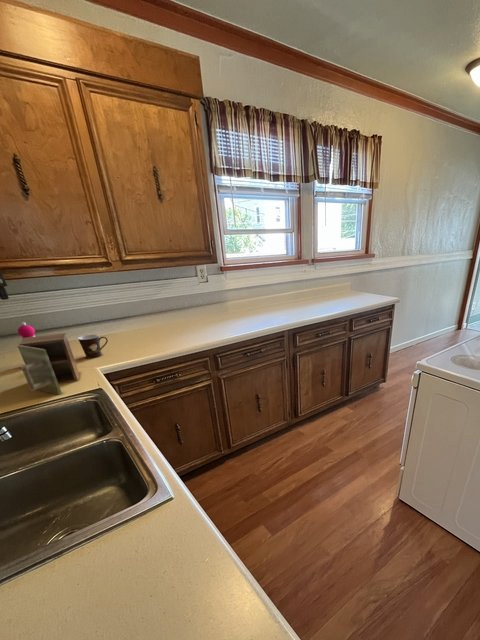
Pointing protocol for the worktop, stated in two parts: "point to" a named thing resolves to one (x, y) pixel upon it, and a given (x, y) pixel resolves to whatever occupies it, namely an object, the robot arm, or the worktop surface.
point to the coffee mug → (91, 345)
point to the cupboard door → (38, 370)
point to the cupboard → (56, 355)
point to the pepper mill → (26, 331)
